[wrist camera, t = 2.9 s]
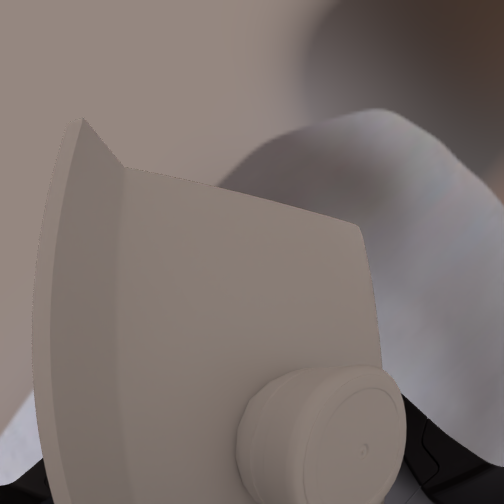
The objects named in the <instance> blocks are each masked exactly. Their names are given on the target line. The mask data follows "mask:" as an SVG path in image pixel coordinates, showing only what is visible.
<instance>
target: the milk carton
mask: <svg viewBox="0 0 504 504" xmlns="http://www.w3.org/2000/svg"><path fill="white" fill-rule="evenodd" d="M32 364H33V365H32V367H33V385H34V397H35V407H36V416H37V424H38V431H39V437H40V443H41V449H42V454H43V459H44V464H45V469H46V474H47V478H48V482H49V486H50V490H51V494H52V497H53V501H54V504H384V500H385V496H386V495H387V493H388V492H389V490H390V489H391V487H392V485H393V483H394V482H395V480H396V477H397V475H398V472H399V470H400V467H401V463H402V460H403V456H404V450H405V443H406V413H405V407H404V402H403V398H402V395H401V392H400V389H399V388H398V386H397V384H396V382H395V380H394V379H393V378H392V377H391V376H390V375H389V374H388V373H387V372H386V371H384V370H382V358H381V348H380V338H379V329H378V321H377V313H376V305H375V298H374V292H373V286H372V280H371V274H370V268H369V263H368V258H367V253H366V248H365V244H364V240H363V236H362V233H361V231H360V229H359V226H358V225H356V224H353V223H350V222H347V221H343V220H340V219H337V218H333V217H330V216H326V215H323V214H319V213H316V212H312V211H308V210H305V209H301V208H298V207H294V206H290V205H286V204H283V203H279V202H275V201H271V200H268V199H264V198H260V197H256V196H252V195H248V194H244V193H240V192H236V191H232V190H228V189H224V188H219V187H215V186H211V185H207V184H202V183H198V182H193V181H189V180H185V179H180V178H176V177H171V176H167V175H162V174H157V173H152V172H148V171H143V170H138V169H132V168H128V167H124V166H123V165H122V164H121V162H120V161H119V160H118V159H117V158H116V156H115V155H114V154H113V153H112V151H111V150H110V149H109V148H108V147H107V145H106V144H105V143H104V142H103V141H102V140H101V138H100V137H99V136H98V135H97V133H96V132H95V131H94V130H93V128H92V127H91V126H90V125H89V123H88V122H87V121H86V120H85V119H84V118H80V119H77V120H74V121H72V122H70V123H68V124H67V126H66V129H65V132H64V135H63V138H62V142H61V145H60V148H59V152H58V155H57V159H56V163H55V167H54V170H53V175H52V178H51V182H50V187H49V191H48V196H47V200H46V205H45V210H44V215H43V221H42V227H41V233H40V239H39V246H38V254H37V262H36V271H35V281H34V294H33V312H32Z"/></svg>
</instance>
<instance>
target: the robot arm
mask: <svg viewBox="0 0 504 504" xmlns="http://www.w3.org/2000/svg"><path fill="white" fill-rule="evenodd" d="M401 395H402V398H403V402H404V407H405V413H406V443H405V450H404V456H403V460H402V463H401V467H400V470H399V472H398V475H397V477H396V480H395V482H394V483H393V485H392V487H391V489H390V490H389V492H388V493H387V495H386V496H385V500H384V504H504V467H500V466H496V465H493V464H490V463H488V462H486V461H485V460H483V459H482V458H480V457H479V456H477V455H476V454H474V453H473V452H471V451H470V450H468V449H467V448H465V447H464V446H462V445H461V444H460V443H458V442H457V441H455V440H454V439H453V438H451V437H450V436H449V435H447V434H446V433H445V432H444V431H442V430H441V429H440V428H439V427H438V426H437V425H435V424H434V423H433V422H432V421H431V420H430V419H429V418H428V419H427V416H426V415H424V414H423V413H422V412H421V411H420V410H419V409H418V408H417V407H416V406H415V405H414V404H412V403H411V402H410V401H409V400H408V399H407V398H406V397H405V396H404V395H403V394H402V393H401ZM0 504H54V501H53V497H52V494H51V490H50V486H49V482H48V478H47V474H46V469H45V464H44V459H43V458H42V459H41V460H40V461H39V462H38V463H36V464H35V465H34V466H33V467H32V468H31V469H29V470H28V471H27V472H26V473H25V474H23V475H22V476H21V477H20V478H19V479H17V480H16V481H14V482H13V483H10V484H7V485H2V486H0Z"/></svg>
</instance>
